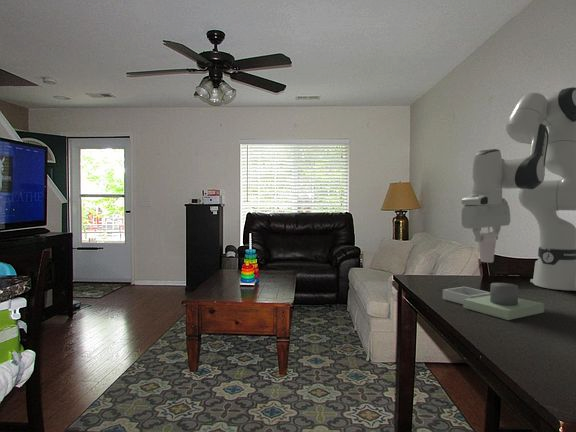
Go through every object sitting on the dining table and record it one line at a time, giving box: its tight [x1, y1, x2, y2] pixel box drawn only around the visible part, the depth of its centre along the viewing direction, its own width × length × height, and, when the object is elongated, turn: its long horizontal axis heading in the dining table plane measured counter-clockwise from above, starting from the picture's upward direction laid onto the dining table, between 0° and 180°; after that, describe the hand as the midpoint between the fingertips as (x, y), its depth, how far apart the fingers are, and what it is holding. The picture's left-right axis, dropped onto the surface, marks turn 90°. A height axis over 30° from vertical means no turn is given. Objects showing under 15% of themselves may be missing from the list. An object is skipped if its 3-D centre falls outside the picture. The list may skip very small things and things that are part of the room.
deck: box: [442, 282, 545, 321], centre depth 121 cm, size 16×24×8 cm, turn 27°
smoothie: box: [477, 227, 499, 263], centre depth 133 cm, size 6×6×14 cm
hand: (486, 240), depth 133 cm, fingers closed on smoothie, 6 cm apart
